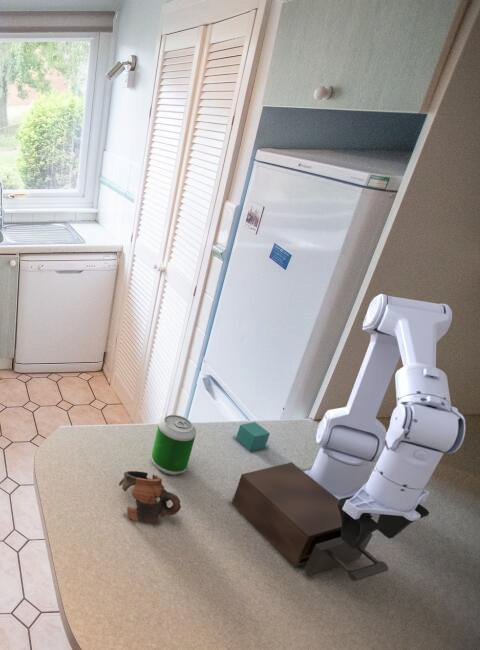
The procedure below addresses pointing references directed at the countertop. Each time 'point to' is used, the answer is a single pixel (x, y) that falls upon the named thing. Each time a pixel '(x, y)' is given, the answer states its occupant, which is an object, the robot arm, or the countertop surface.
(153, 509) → the pottery mug
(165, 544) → the countertop surface
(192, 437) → the soda can
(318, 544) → the drawer
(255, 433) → the block
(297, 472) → the cabinet
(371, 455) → the robot arm
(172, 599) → the countertop surface
